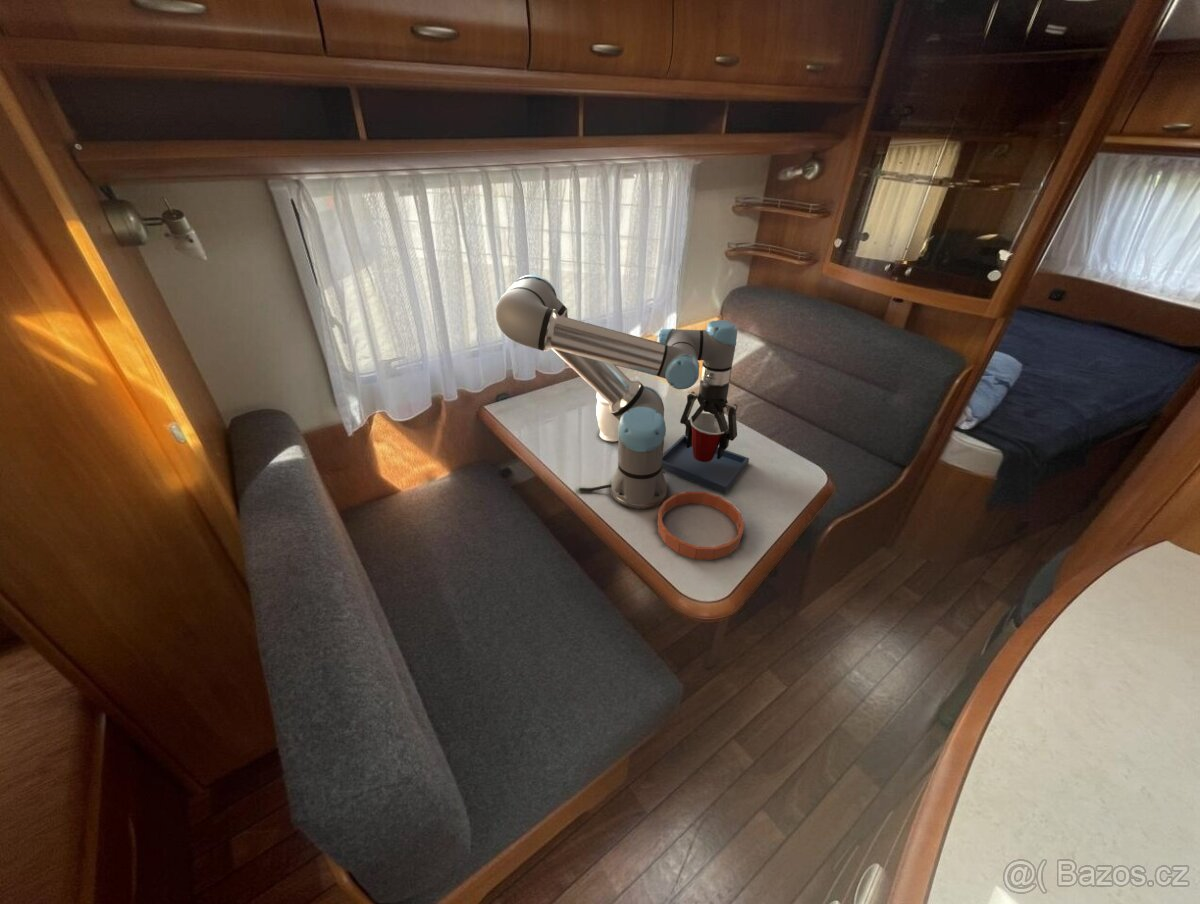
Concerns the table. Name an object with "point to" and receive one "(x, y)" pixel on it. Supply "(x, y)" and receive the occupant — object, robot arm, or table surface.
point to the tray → (704, 466)
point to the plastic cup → (705, 436)
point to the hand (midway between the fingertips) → (704, 451)
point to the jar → (606, 420)
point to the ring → (693, 550)
